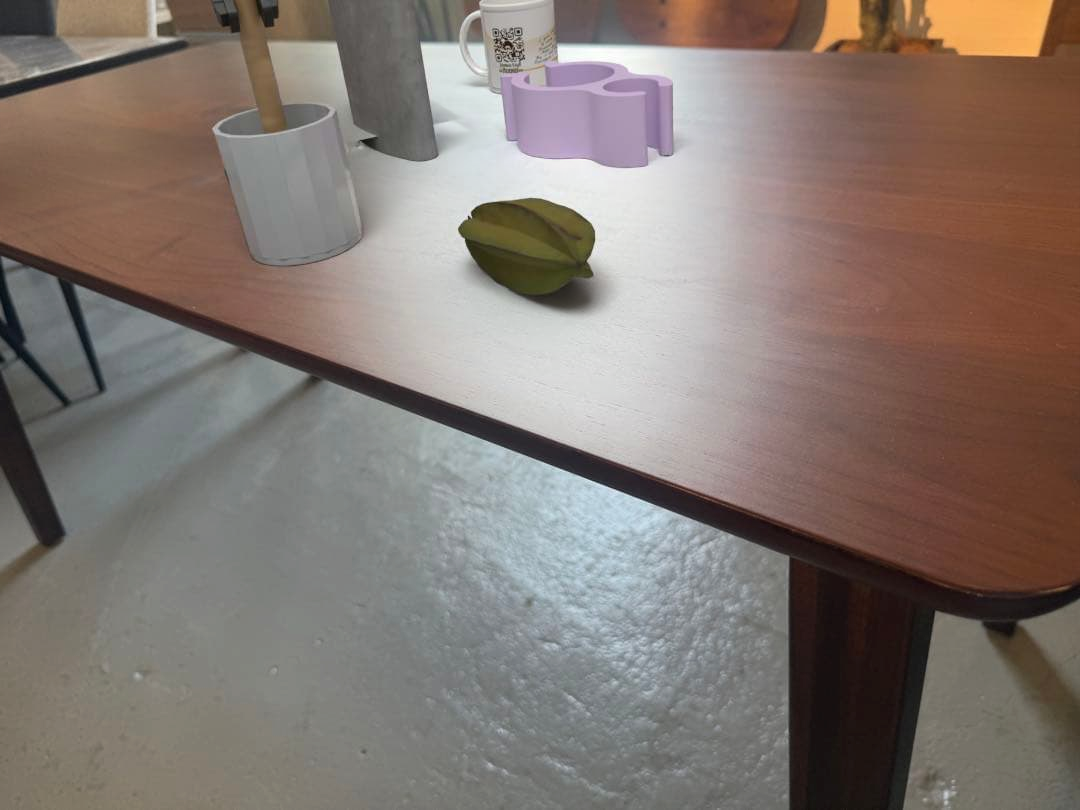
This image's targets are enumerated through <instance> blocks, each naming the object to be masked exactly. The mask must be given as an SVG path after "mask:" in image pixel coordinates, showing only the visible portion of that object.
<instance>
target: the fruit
mask: <svg viewBox="0 0 1080 810" xmlns="http://www.w3.org/2000/svg"><path fill="white" fill-rule="evenodd" d="M470 215H471V216H470ZM470 215H468V214H467V218H466V219H464V220H463V221H462V222H461V223H460V224H459V226H458V228H457V231H458V234H459V235H460V237H461V238H463V239H464V243H465V246H466V248H467V251H468V252H469V254H470V256H471V258H472V259H473V261H474V262H475V263H476V265H477V266H478V267H479V268H480V269H481V270H482V272H484V274H485V275H487V276H488V277H489V278H490V279H492V280H493V281H494V282H495V283H496V284H499V285H500V286H503V287H505V288H506V289H508V290H509V291H511V292H514V293H517V294H520V295H521V294H522V295H527V296H542V295H548V294H551V293H554V292H556V291H558V290H560V289H561V288H563V287H564V286H565V285H567V284H568V283H570V282H571V281H573V280H574V278H580V279H581V278H582V279H591V278H593V277H594V272H593V269H592V267H591V265H590V264H589V262H588V260H589V258H590V257H591V256H592V253H593V250H594V246H595V243H596V230H595V228H594V225H593V223H591V221H589V220H588V219H587V218H586V217H584V216H583V215H582V214H581V213H579V212H577V211H576V210H574V209H572V208H570V207H568V206H565V205H562V204H559V203H555V202H552V201H551V200H547V199H543V198H540V197H526V198H519V199H509V200H496V201H489V202H484V203H481V204H478V205H476V206H475V207H474V208H473V209H472V210H471V211H470Z"/></svg>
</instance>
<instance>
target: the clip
mask: <svg viewBox="0 0 1080 810" xmlns="http://www.w3.org/2000/svg"><path fill="white" fill-rule="evenodd" d="M544 64H545V76H546V87H540V86H533V85H530V80H529V74H527V73H514V74H503V75H500V82H501V91H502V94H501V99H502V107H503V117H504V126H505V134H506V140H507V141H517V148H518V150H519V151H520V152H521V153H523V154H526V155H528V156H531V157H536V158H541V159H542V158H543V159H559V160H560V159H561V160H562V159H587V160H592V161H594V162H595V163H597V164H599V165H602V166H606V167H611V168H640V167H646V166H648V165H649V155H648V150H649V149H648V147H649V146H651V147H650V148H653V147H655V148H654V149H656V148H657V149H656V150H658V149H659V150H658V153H659V154H660V155H659V156H661V155H670V154H672V153H673V154H674V81H673V79H671V78H669V77H666V76H663V75H655V74H639V73H633V72H630V71H629V69H628V68H627V67H626V66H625V65H622V64H621V63H620V64H619V63H616V62H615V63H614V62H609V61H597V60H592V61H591V60H585V61H583V60H582V61H581V60H580V61H569V62H568V61H567V62H558V63H557V61H547V62H544ZM673 154H672V155H673ZM670 156H671V155H670Z"/></svg>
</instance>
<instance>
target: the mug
mask: <svg viewBox="0 0 1080 810" xmlns="http://www.w3.org/2000/svg"><path fill="white" fill-rule="evenodd" d="M478 8H479V9H478V10H475V11H473V12H471V13H470V14H469V15H467V17H466V18H464V20H463V22H462V24H461V27H460V30H459V36H458V37H459V38H458V39H459V40H458V42H459V49H460V53H461V56H462V59H463V62H464V63H465V64H466V66H467V67H468V69H469V70H470V71H472V73H474V74H475V75H478V76H479V77H482V78H487V80H488V87H489V90H490V91H491V92H493V93H496V94H501V95H502V91H501V82H500V75H503V74H514V73H527V74H529V80H530V85H533V86H540V87H546V76H545V64H544V62H547V61H557V63H559V51H558V38H557V27H556V14H555V1H554V0H480V1H479V2H478ZM479 18H480V24H481V31H482V40H483V48H484V56H485V65H486V68H485V67H482V66H480V65H479V64H477V62H476V61H475V60H474V59H473V57H472V56H471V54H470V51H469V48H468V40H467V39H468V31H469V28H470V26H471V24H472V22H473V21H474V20H476V19H479Z"/></svg>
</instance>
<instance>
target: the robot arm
mask: <svg viewBox="0 0 1080 810" xmlns="http://www.w3.org/2000/svg"><path fill="white" fill-rule="evenodd" d="M210 4H211V6H212V9H213V12H214V15H215V18H216V21H217V23H218V24H219V25H220V26H221V27H222V28H226V27H228V30H229V31H230V34H236V33H237V34H238V32H241V30H240V23H239V17H238V13H237V10H236V7H235V4H234V1H233V0H210ZM257 4H258V8H259V12H260V16H261V20H262V24H263V28H264V29H265V28H266V29H267V28H273V27H275V20H276V19H279V16H280V8H279V5H280V4H279V0H257Z"/></svg>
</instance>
